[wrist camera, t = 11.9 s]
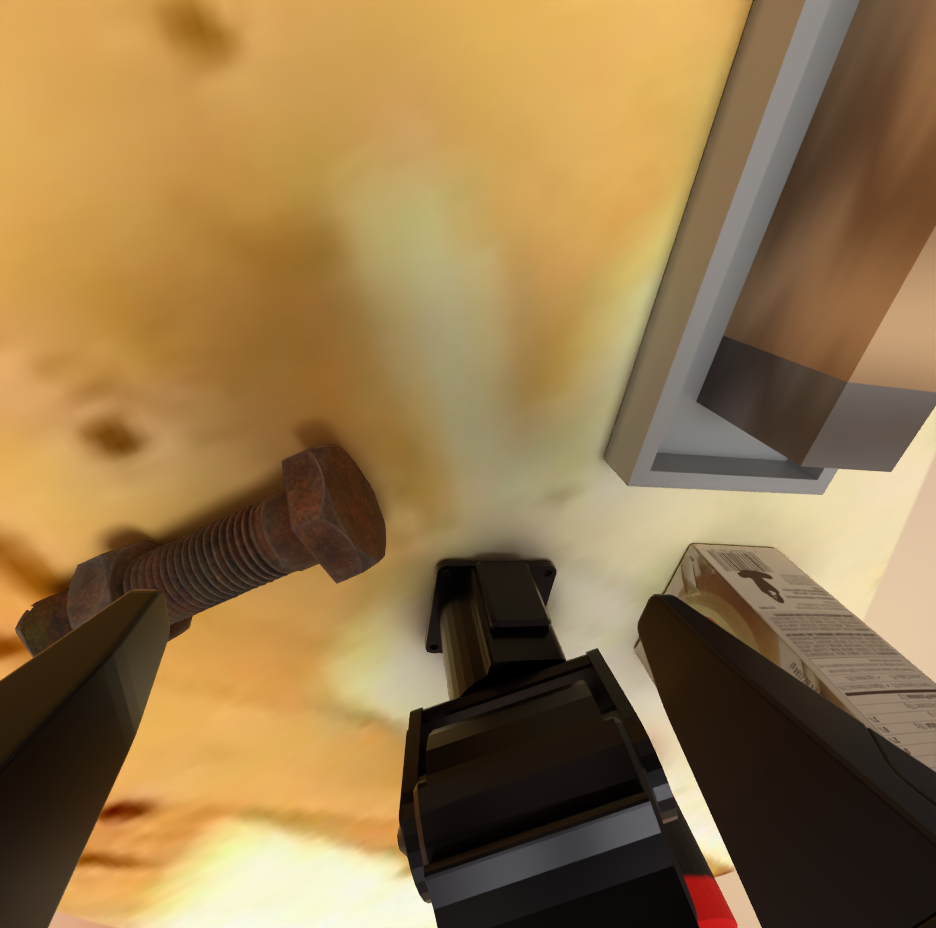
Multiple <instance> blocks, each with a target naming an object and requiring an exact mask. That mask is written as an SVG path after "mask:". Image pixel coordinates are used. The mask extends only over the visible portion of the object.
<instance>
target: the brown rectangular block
mask: <svg viewBox="0 0 936 928" xmlns="http://www.w3.org/2000/svg"><path fill="white" fill-rule="evenodd" d="M696 402H697V403H699V404H701V405H702V406H704V407H705V408H707V409H709V410H710V411H712V412H714V413H715V414H717V415H718V416H720V417H722V418H723V419H725V420H727V421H728V422H730V423H731V424H733V425H735V426H736V427H738V428H739V429H741V430H743V431H744V432H746V433H748V434H749V435H751V436H752V437H754V438H756V439H757V440H759V441H761V442H762V443H764V444H765V445H767V446H769V447H770V448H772V449H773V450H775V451H777V452H778V453H780V454H782V455H783V456H785V457H786V458H788V459H790V460H791V461H793V462H795V463H796V464H798V465H799V466H805V467H821V468H837V469H853V470H868V471H884V472H891V471H892V470H893V468H894V467H895V466H896V464H897V463H898V461H899V460H900V458H901V457H902V455H903V454H904V452H905V451H906V449H907V448H908V446H909V445H910V443H911V442H912V440H913V439H914V437H915V436H916V434H917V433H918V431H919V430H920V428H921V427H922V425H923V424H924V422H925V421H926V419H927V418H928V416H929V415H930V413H931V412H932V411H933V409H934V408H935V406H936V0H860V2H859V4H858V6H857V9H856V11H855V14H854V16H853V19H852V21H851V24H850V26H849V28H848V31H847V33H846V36H845V38H844V41H843V43H842V46H841V48H840V50H839V53H838V55H837V58H836V60H835V63H834V65H833V68H832V70H831V72H830V75H829V77H828V80H827V82H826V85H825V87H824V90H823V92H822V95H821V97H820V99H819V102H818V104H817V107H816V109H815V112H814V114H813V117H812V119H811V121H810V124H809V126H808V129H807V131H806V134H805V136H804V139H803V141H802V143H801V146H800V148H799V151H798V153H797V156H796V158H795V161H794V163H793V165H792V168H791V170H790V173H789V175H788V178H787V180H786V183H785V185H784V187H783V190H782V192H781V195H780V197H779V200H778V202H777V205H776V207H775V210H774V212H773V214H772V217H771V219H770V222H769V224H768V227H767V229H766V232H765V234H764V236H763V239H762V241H761V244H760V246H759V249H758V251H757V254H756V256H755V258H754V261H753V263H752V266H751V268H750V271H749V273H748V276H747V278H746V280H745V283H744V285H743V288H742V290H741V293H740V295H739V298H738V300H737V303H736V305H735V307H734V310H733V312H732V315H731V317H730V320H729V322H728V325H727V327H726V329H725V332H724V334H723V337H722V339H721V342H720V344H719V347H718V349H717V351H716V354H715V356H714V359H713V361H712V364H711V366H710V369H709V371H708V373H707V376H706V378H705V381H704V383H703V386H702V388H701V391H700V393H699V395H698V398H697V400H696Z"/></svg>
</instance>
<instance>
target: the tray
mask: <svg viewBox="0 0 936 928" xmlns="http://www.w3.org/2000/svg"><path fill="white" fill-rule="evenodd" d="M859 2H860V0H754V1H753V4H752V7H751V10H750V13H749V16H748V19H747V22H746V25H745V29H744V32H743V35H742V38H741V41H740V44H739V47H738V50H737V53H736V56H735V59H734V62H733V65H732V68H731V71H730V74H729V77H728V80H727V84H726V87H725V90H724V93H723V96H722V99H721V102H720V105H719V108H718V111H717V114H716V117H715V120H714V123H713V126H712V129H711V132H710V135H709V139H708V142H707V145H706V148H705V151H704V154H703V157H702V160H701V163H700V166H699V169H698V172H697V175H696V178H695V181H694V184H693V187H692V190H691V194H690V197H689V200H688V203H687V206H686V209H685V212H684V215H683V218H682V221H681V224H680V227H679V230H678V233H677V236H676V239H675V242H674V246H673V249H672V252H671V255H670V258H669V261H668V264H667V267H666V270H665V273H664V276H663V279H662V282H661V285H660V288H659V291H658V294H657V297H656V301H655V304H654V307H653V310H652V313H651V316H650V319H649V322H648V325H647V328H646V331H645V334H644V337H643V340H642V343H641V346H640V349H639V352H638V356H637V359H636V362H635V365H634V368H633V371H632V374H631V377H630V380H629V383H628V386H627V389H626V392H625V395H624V398H623V401H622V404H621V408H620V411H619V414H618V417H617V420H616V423H615V426H614V429H613V432H612V435H611V438H610V441H609V444H608V447H607V450H606V453H605V456H604V460H605V461H606V462H607V463H608V464H609V465H610V467H611V468H612V469H613V470H614V471H615V472H616V473H617V474H618V476H619V477H620V478H621V479H622V480H623V481H624V482H625V484H626V485H627V486H640V487H662V488H684V489H706V490H727V491H749V492H771V493H793V494H815V495H823V493H824V491H825V490H826V488H827V487H828V485H829V483H830V482H831V480H832V478H833V477H834V475H835V473H836V472H837V470H838V469H837V468H821V467H805V466H799V465H798V464H796V463H795V462H793V461H791V460H790V459H788V458H786V457H785V456H783V455H782V454H780V453H778V452H777V451H775V450H773V449H772V448H770V447H769V446H767V445H765V444H764V443H762V442H761V441H759V440H757V439H756V438H754V437H752V436H751V435H749V434H748V433H746V432H744V431H743V430H741V429H739V428H738V427H736V426H735V425H733V424H731V423H730V422H728V421H727V420H725V419H723V418H722V417H720V416H718V415H717V414H715V413H714V412H712V411H710V410H709V409H707V408H705V407H704V406H702V405H701V404H699V403H697V402H696V400H697V398H698V395H699V393H700V391H701V388H702V386H703V383H704V381H705V378H706V376H707V373H708V371H709V369H710V366H711V364H712V361H713V359H714V356H715V354H716V351H717V349H718V347H719V344H720V342H721V339H722V337H723V334H724V332H725V329H726V327H727V325H728V322H729V320H730V317H731V315H732V312H733V310H734V307H735V305H736V303H737V300H738V298H739V295H740V293H741V290H742V288H743V285H744V283H745V280H746V278H747V276H748V273H749V271H750V268H751V266H752V263H753V261H754V258H755V256H756V254H757V251H758V249H759V246H760V244H761V241H762V239H763V236H764V234H765V232H766V229H767V227H768V224H769V222H770V219H771V217H772V214H773V212H774V210H775V207H776V205H777V202H778V200H779V197H780V195H781V192H782V190H783V187H784V185H785V183H786V180H787V178H788V175H789V173H790V170H791V168H792V165H793V163H794V161H795V158H796V156H797V153H798V151H799V148H800V146H801V143H802V141H803V139H804V136H805V134H806V131H807V129H808V126H809V124H810V121H811V119H812V117H813V114H814V112H815V109H816V107H817V104H818V102H819V99H820V97H821V95H822V92H823V90H824V87H825V85H826V82H827V80H828V77H829V75H830V72H831V70H832V68H833V65H834V63H835V60H836V58H837V55H838V53H839V50H840V48H841V46H842V43H843V41H844V38H845V36H846V33H847V31H848V28H849V26H850V24H851V21H852V19H853V16H854V14H855V11H856V9H857V6H858V4H859Z"/></svg>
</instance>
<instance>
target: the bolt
mask: <svg viewBox="0 0 936 928" xmlns="http://www.w3.org/2000/svg"><path fill="white" fill-rule="evenodd" d="M282 467H283V474H284V481H285V488H284V489H282V490H279V491H277V492H275V493H273V494H271V495H269V496H268V497H267V498H266V499H264V500H263V501H261V502H259V503H257V504H254V505H251V506H249V507H247V508H244V509H242V510H241V511H239V512H236V513H234V514H232V515H230V516H227V517H225V518H222V519H220V520H219V521H216V522H214V523H212V524H209V525H207V526H205V527H203V528H200V529H199V530H197V531H194V532H192V533H189V534H187V535H185V536H183V537H180V538H178V539H177V540H174V541H172V542H170V543H167V544H165V545H163V546H159V545H157V544H154V543H152V542H149V541H145V542H140V543H136V544H132V545H129V546H126V547H122V548H119V549H116V550H113V551H110V552H107V553H104V554H101V555H99V556H97V557H95V558H92V559H90V560H88V561H86V562H84V563H82V564H79V565H78V566H77V569H76V571H75V574H74V576H73V579H72V581H71V584H70V588H68V589H65V590H63V591H61V592H59V593H56V594H55V595H53V596H49V597H47V598H45V599H42V600H40V601H38V602H36V603H34V604H33V605H32V606H33V607H34V608H32V609H31V611H28V610H26V612H25V613H24V614H23V615H22V617H21V619H20V620H19V622H18V624H17V626H16V628H15V630H16V634H17V635H18V636H19V638H20V639H21V641H22V642H23V644H24V645H25V647H26V648H27V649H28V651H29V652H30V654H31V655H32V657H33V658H34V657H35V656H37V655H38V654H39V653H41V652H42V651H44V650H45V649H47V648H48V647H50V646H51V645H52V644H54V643H55V642H57V641H58V640H60V639H61V638H63V637H64V636H65V635H67V634H68V633H70V632H71V631H73V630H74V629H76V628H77V627H79V626H80V625H81V624H83V623H84V622H86V621H87V620H89V619H90V618H92V617H93V616H94V615H96V614H97V613H99V612H100V611H102V610H103V609H105V608H106V607H107V606H109V605H110V604H112V603H113V602H115V601H116V600H118V599H119V598H120V597H122V596H123V595H125V594H126V593H128V592H130V591H132V590H136V589H148V590H160V591H162V592H163V594H164V597H165V602H166V608H167V613H168V619H169V624H170V631H169V637H168V641H170V640H172V639H173V638H175V637H177V636H178V635H180V634H182V633H183V632H185V631H186V630H187V629H188V628H189V627H190V623H191V620H192V616H193V615H195V614H197V613H199V612H202V611H204V610H206V609H208V608H211V607H213V606H215V605H218V604H220V603H222V602H225V601H227V600H229V599H232V598H235V597H237V596H239V595H240V594H243V593H245V592H247V591H250V590H251V589H254V588H257V587H259V586H262V585H265V584H266V583H269V582H273V581H274V580H275V579H279V578H281V577H283V576H286V575H288V574H290V573H292V572H295V571H303V570H305V569H307V568H310V567H312V566H314V565H317V564H319V563H320V565H321V566H322V567H323V568H324V569H325V571H326V572H327V573H328V574H329V575H330V576H331V578H332V579H333V580H334V581H335V582H336V583H340V582H342V581H344V580H347V579H349V578H351V577H353V576H356V575H358V574H360V573H363V572H364V571H366V570H368V569H369V568H371V567H372V566H374V565H375V564H376V563H378V562H379V561H380V560H381V559H382V558H383V557H384V556H385V549H386V528H385V523H384V519H383V516H382V513H381V511H380V508H379V506H378V503H377V500H376V498H375V495H374V493H373V491H372V489H371V487H370V485H369V483H368V482H367V480H366V479H365V477H364V476H363V474H362V473H361V471H360V469H359V468H358V466H357V465H356V463H355V462H354V461H353V459H352V458H351V457H350V456H349V455H348V454H347V453H345V452H344V451H343V450H342V449H340V448H339V447H338V446H336V445H323V446H318V447H314V448H310V449H307V450H305V451H302V452H300V453H298V454H296V455H294V456H291V457H289V458H287V459H285V460H282ZM168 641H167V642H168Z"/></svg>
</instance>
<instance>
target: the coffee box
mask: <svg viewBox="0 0 936 928" xmlns="http://www.w3.org/2000/svg"><path fill="white" fill-rule="evenodd" d="M665 594H671V595H674V596H676V597H677V598H679V599H680V600H682V601H683V602H685V603H686V604H688V605H689V606H691V607H692V608H693V609H695V610H696V611H698V612H699V613H701V614H702V615H704V616H705V617H707V618H708V619H710V620H711V621H713V622H714V623H716V624H717V625H719V626H720V627H722V628H723V629H725V630H726V631H727V632H729V633H730V634H732V635H733V636H735V637H736V638H738V639H739V640H741V641H742V642H744V643H745V644H747V645H748V646H750V647H751V648H753V649H754V650H756V651H757V652H758V653H760V654H761V655H763V656H764V657H766V658H767V659H769V660H770V661H772V662H773V663H775V664H776V665H778V666H779V667H781V668H782V669H784V670H785V671H787V672H788V673H790V674H791V675H792V676H794V677H795V678H797V679H798V680H800V681H801V682H803V683H804V684H806V685H807V686H809V687H810V688H812V689H813V690H815V691H816V692H818V693H819V694H821V695H822V696H824V697H825V698H826V699H828V700H829V701H831V702H832V703H834V704H835V705H837V706H838V707H840V708H841V709H843V710H844V711H846V712H847V713H849V714H850V715H852V716H853V717H855V718H856V719H858V720H859V721H860V722H862V723H863V724H864V725H865V726H866V728H867V727H868V728H871V729H872V730H874V731H875V732H877V733H878V734H880V735H881V736H883V737H884V738H886V739H887V740H889V741H890V742H892V743H893V744H894V745H896V746H898V747H899V748H901V749H902V750H904V751H905V752H907V753H908V754H910V755H911V756H913V757H914V758H916V759H917V760H919V761H920V762H922V763H923V764H925V765H926V766H928V767H929V768H931V769H932V770H934V771H935V772H936V683H935V682H933V681H932V680H931V679H930V678H929V677H927V676H926V675H925V674H924V673H923V672H922V671H920V670H919V669H918V668H917V667H915V666H914V665H913V664H912V663H911V662H910V661H909V660H907V659H906V658H905V657H904V656H902V655H901V654H900V653H899V652H898V651H897V650H896V649H894V648H893V647H892V646H891V645H890V644H888V643H887V642H886V641H885V640H883V638H881V637H880V636H879V635H878V634H876V632H874V631H873V630H872V629H871V628H869V627H868V626H867V625H866V624H865V623H864V622H862V621H861V620H860V619H859V618H858V617H857V616H855V615H854V614H853V613H852V612H850V611H849V610H848V609H847V608H845V607H844V606H843V605H842V604H841V603H840V602H839V601H838V600H836V599H835V598H834V597H833V596H832V595H831V594H829V593H828V592H827V591H826V590H824V589H823V588H822V587H821V586H820V585H818V584H817V583H816V582H815V581H814V580H812V579H811V578H810V577H809V576H808V575H807V574H805V573H804V572H803V571H802V570H801V569H800V568H798V567H797V566H796V565H795V564H794V563H793V562H792V561H790V560H789V559H788V558H787V557H786V556H785V555H783V554H782V553H781V552H780V551H778V550H777V549H775V548H765V547H746V546H727V545H707V544H692V545H690V546H689V549H688V550H687V552H686V554H685V556H684V558H683V560H682V561H681V563H680V565H679V567H678V569H677V571H676V573H675V575H674V577H673V579H672V581H671V583H670V584H669V586H668V588H667V590H666V592H665ZM635 652H636V654H637V655H638V657H639V659H640V660H641V662H642V664H643V665H644V667H645V669H646V671H647V672H648V674H649V676H650V677H651V679H652V681H653V682H654V684H655V681H654V678H653V675H652V672H651V669H650V666H649V663H648V661H647V658H646V655H645V652H644V649H643V646H642V643H641V640H640V641H639V643H638V645H637V647H636V649H635ZM655 686H656V684H655ZM656 688H657V687H656Z"/></svg>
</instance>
